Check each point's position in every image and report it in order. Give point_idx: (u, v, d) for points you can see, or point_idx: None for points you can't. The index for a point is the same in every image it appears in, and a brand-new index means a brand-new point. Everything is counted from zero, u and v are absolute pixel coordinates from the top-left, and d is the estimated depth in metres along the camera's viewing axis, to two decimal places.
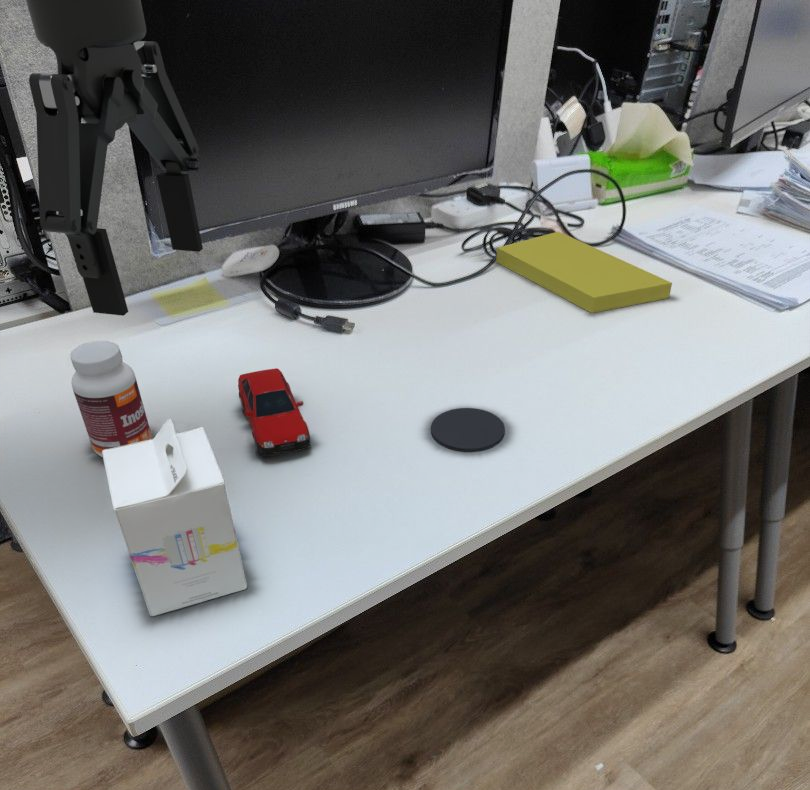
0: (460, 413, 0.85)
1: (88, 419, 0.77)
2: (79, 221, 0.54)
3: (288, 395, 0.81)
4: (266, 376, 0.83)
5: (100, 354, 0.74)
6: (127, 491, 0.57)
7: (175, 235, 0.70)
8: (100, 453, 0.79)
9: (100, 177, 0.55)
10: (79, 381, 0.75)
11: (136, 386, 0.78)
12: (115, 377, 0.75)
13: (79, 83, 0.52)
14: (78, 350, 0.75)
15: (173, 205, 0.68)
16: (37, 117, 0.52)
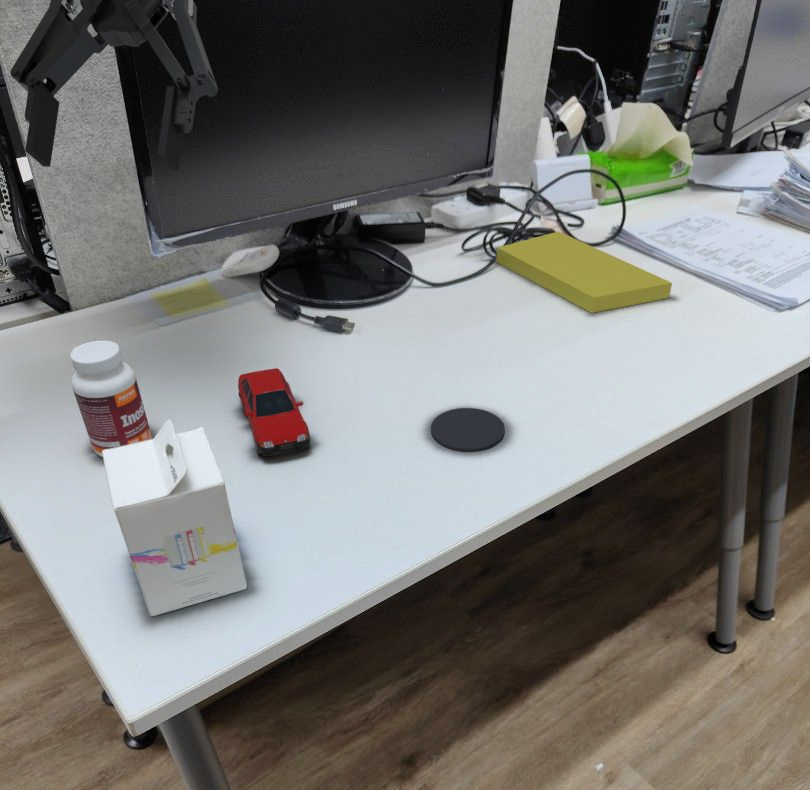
0: (460, 413, 0.85)
1: (88, 419, 0.77)
2: None
3: (288, 395, 0.81)
4: (266, 376, 0.83)
5: (100, 354, 0.74)
6: (127, 491, 0.57)
7: (38, 141, 0.73)
8: (100, 453, 0.79)
9: None
10: (79, 381, 0.75)
11: (136, 386, 0.78)
12: (115, 377, 0.75)
13: None
14: (78, 350, 0.75)
15: (45, 116, 0.73)
16: (186, 9, 0.70)
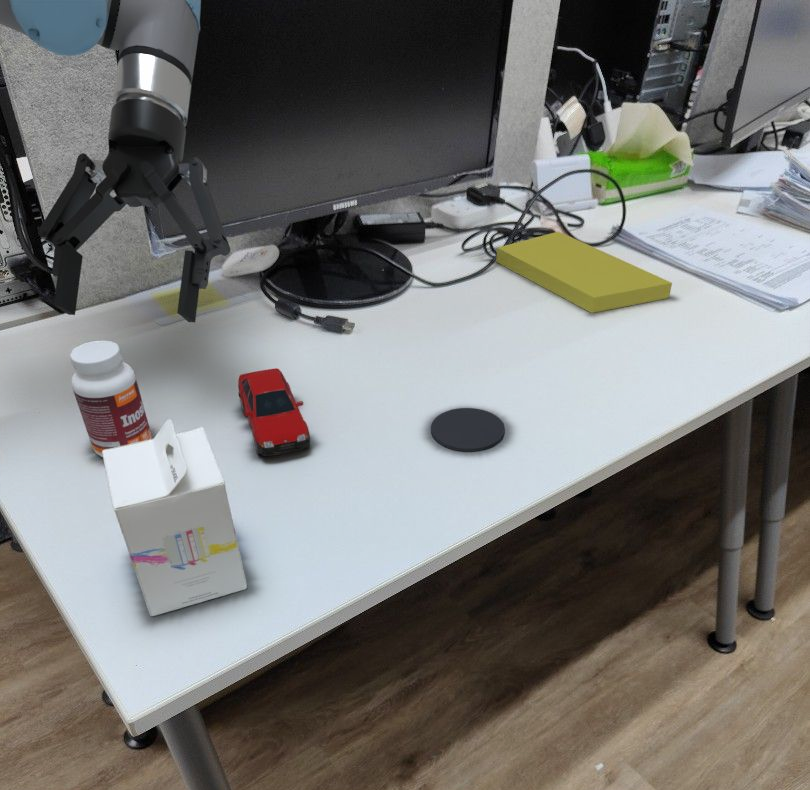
0: (460, 413, 0.85)
1: (88, 419, 0.77)
2: None
3: (288, 395, 0.81)
4: (266, 376, 0.83)
5: (100, 354, 0.74)
6: (127, 491, 0.57)
7: (65, 295, 0.80)
8: (100, 453, 0.79)
9: None
10: (79, 381, 0.75)
11: (136, 386, 0.78)
12: (115, 377, 0.75)
13: None
14: (78, 350, 0.75)
15: (71, 272, 0.80)
16: (201, 180, 0.78)
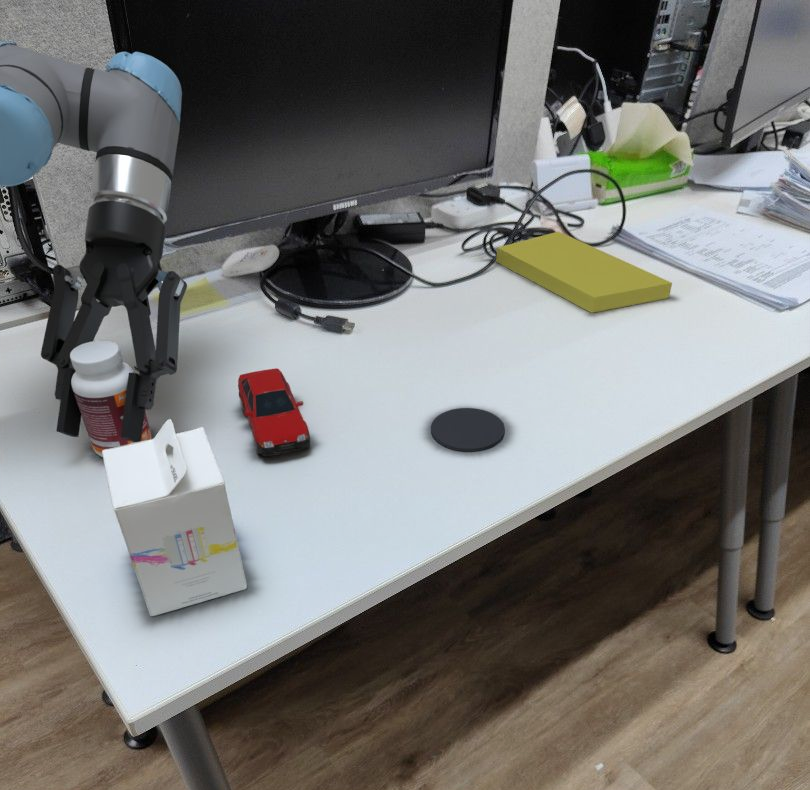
0: (460, 413, 0.85)
1: (88, 419, 0.77)
2: None
3: (288, 395, 0.81)
4: (266, 376, 0.83)
5: (100, 354, 0.74)
6: (127, 491, 0.57)
7: (68, 420, 0.77)
8: (100, 453, 0.79)
9: None
10: (79, 381, 0.75)
11: None
12: (114, 377, 0.75)
13: None
14: (78, 350, 0.75)
15: (74, 395, 0.77)
16: (170, 297, 0.76)
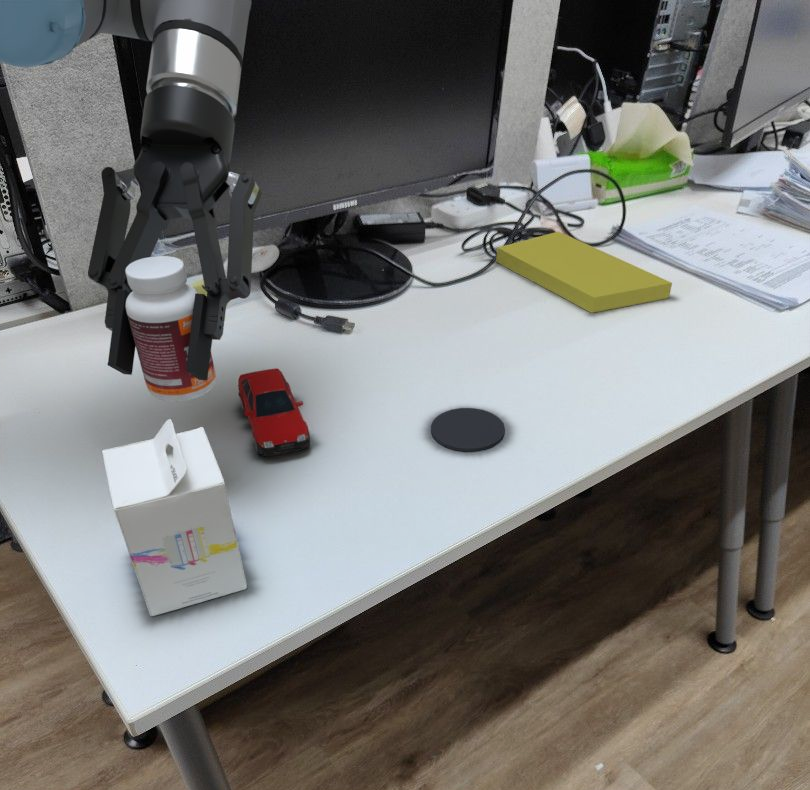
0: (460, 413, 0.85)
1: (145, 351, 0.64)
2: None
3: (288, 395, 0.81)
4: (266, 376, 0.83)
5: (162, 270, 0.61)
6: (127, 491, 0.57)
7: (121, 352, 0.64)
8: (158, 394, 0.67)
9: None
10: (136, 303, 0.62)
11: None
12: (178, 298, 0.62)
13: None
14: (134, 266, 0.62)
15: (128, 323, 0.65)
16: (244, 202, 0.63)
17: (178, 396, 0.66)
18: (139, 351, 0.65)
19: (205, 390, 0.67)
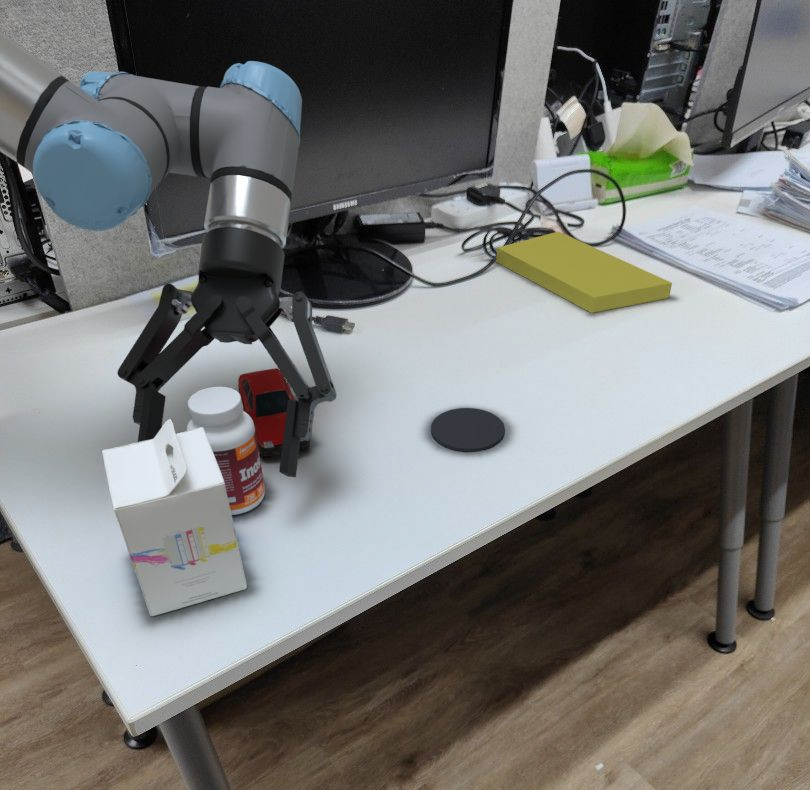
0: (460, 413, 0.85)
1: None
2: None
3: (288, 395, 0.81)
4: (266, 376, 0.83)
5: (222, 404, 0.67)
6: (127, 491, 0.57)
7: None
8: None
9: None
10: None
11: (255, 436, 0.70)
12: (236, 428, 0.68)
13: None
14: (196, 398, 0.68)
15: (154, 418, 0.70)
16: (306, 318, 0.68)
17: (232, 511, 0.72)
18: None
19: (256, 504, 0.73)
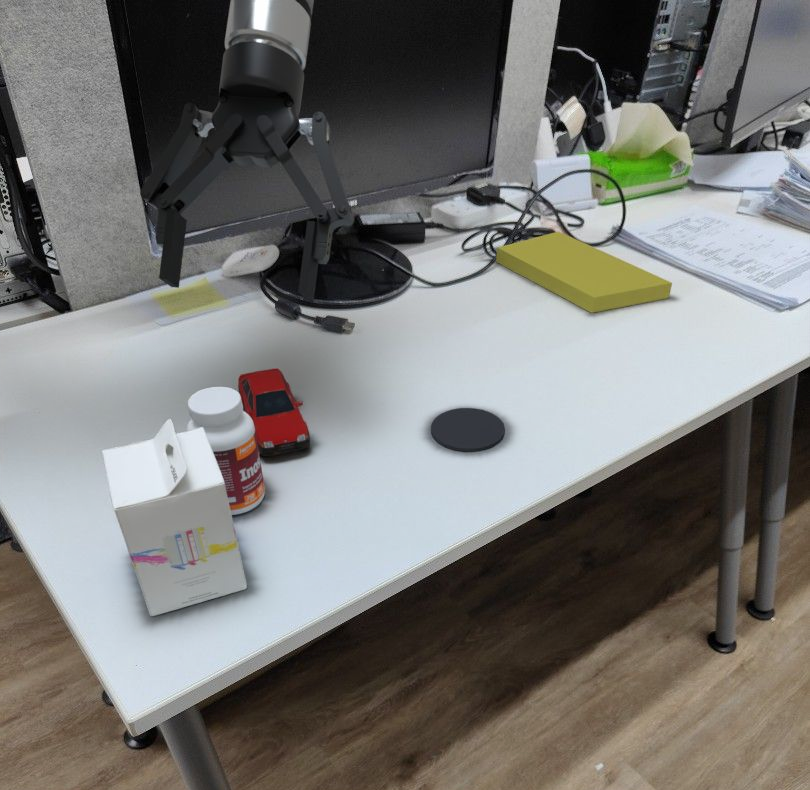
0: (460, 413, 0.85)
1: None
2: None
3: (288, 395, 0.81)
4: (266, 376, 0.83)
5: (222, 404, 0.67)
6: (127, 491, 0.57)
7: (171, 266, 0.72)
8: None
9: None
10: None
11: (255, 436, 0.70)
12: (236, 428, 0.68)
13: None
14: (196, 398, 0.68)
15: (176, 240, 0.72)
16: (325, 139, 0.69)
17: (232, 511, 0.72)
18: None
19: (256, 504, 0.73)
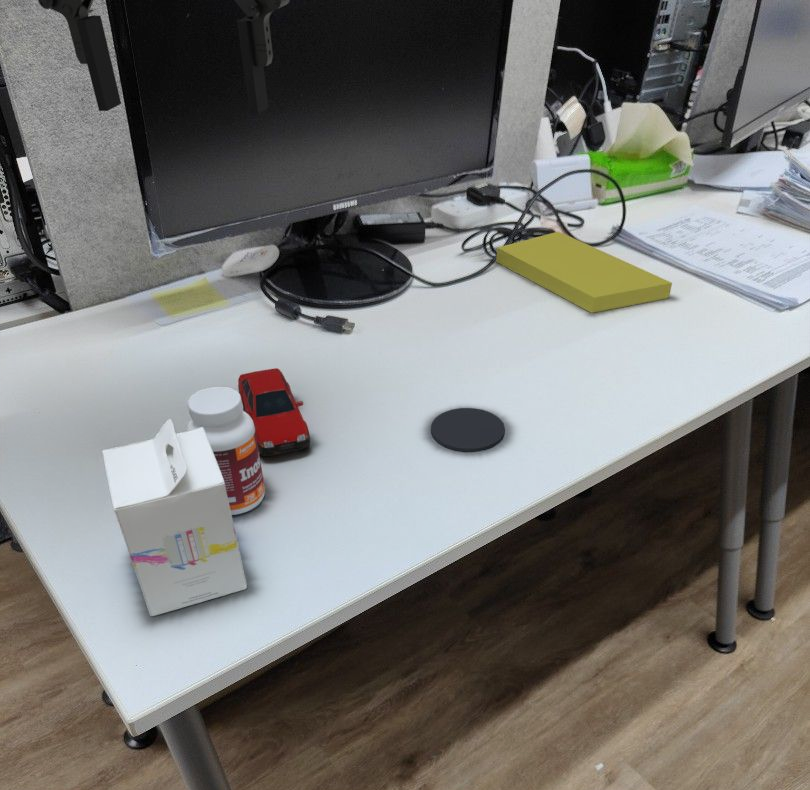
0: (460, 413, 0.85)
1: None
2: None
3: (288, 395, 0.81)
4: (266, 376, 0.83)
5: (222, 404, 0.67)
6: (127, 491, 0.57)
7: (106, 91, 0.65)
8: None
9: None
10: None
11: (255, 436, 0.70)
12: (236, 428, 0.68)
13: None
14: (196, 398, 0.68)
15: (99, 54, 0.64)
16: None
17: (232, 511, 0.72)
18: None
19: (256, 504, 0.73)
